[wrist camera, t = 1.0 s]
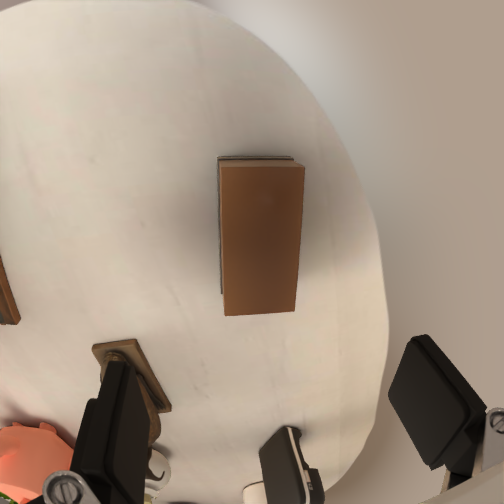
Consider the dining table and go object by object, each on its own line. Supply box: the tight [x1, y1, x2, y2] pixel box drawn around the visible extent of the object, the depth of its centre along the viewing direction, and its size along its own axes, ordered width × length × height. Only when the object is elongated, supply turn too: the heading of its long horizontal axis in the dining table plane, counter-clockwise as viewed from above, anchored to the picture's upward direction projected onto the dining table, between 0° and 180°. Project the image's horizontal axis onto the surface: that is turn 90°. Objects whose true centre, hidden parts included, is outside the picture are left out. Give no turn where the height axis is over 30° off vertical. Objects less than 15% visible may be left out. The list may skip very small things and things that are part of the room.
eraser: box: [217, 156, 305, 316], centre depth 21 cm, size 5×10×4 cm, turn 179°
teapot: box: [0, 422, 74, 504], centre depth 26 cm, size 15×17×13 cm
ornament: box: [144, 449, 171, 504], centre depth 29 cm, size 6×7×10 cm
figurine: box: [92, 339, 172, 481], centre depth 25 cm, size 14×4×9 cm, turn 10°
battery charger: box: [259, 427, 325, 504], centre depth 30 cm, size 7×4×11 cm, turn 154°
